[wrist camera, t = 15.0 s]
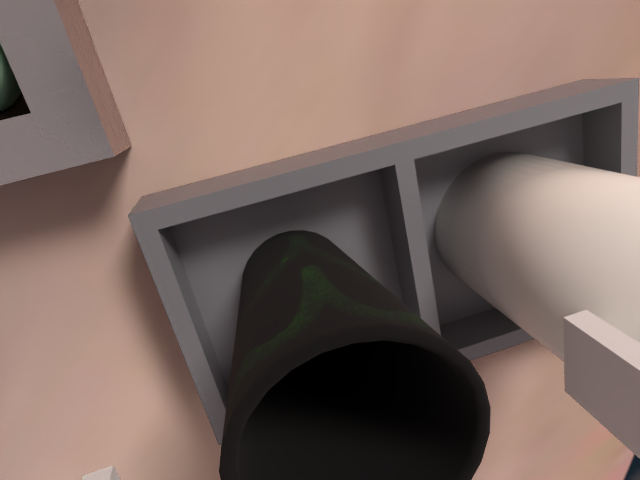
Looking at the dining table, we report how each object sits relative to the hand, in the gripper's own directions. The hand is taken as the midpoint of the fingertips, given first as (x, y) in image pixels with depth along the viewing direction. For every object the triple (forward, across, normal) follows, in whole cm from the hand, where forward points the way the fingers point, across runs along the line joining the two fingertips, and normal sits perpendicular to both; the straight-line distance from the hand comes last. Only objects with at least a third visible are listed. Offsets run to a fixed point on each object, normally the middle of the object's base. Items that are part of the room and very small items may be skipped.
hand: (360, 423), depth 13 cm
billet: (+11, +11, -1) cm, 16 cm away
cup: (+11, 0, -1) cm, 12 cm away
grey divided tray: (+12, +6, -1) cm, 14 cm away
